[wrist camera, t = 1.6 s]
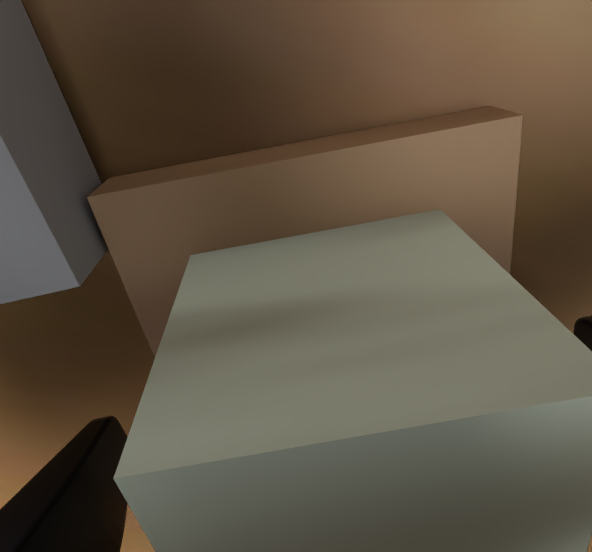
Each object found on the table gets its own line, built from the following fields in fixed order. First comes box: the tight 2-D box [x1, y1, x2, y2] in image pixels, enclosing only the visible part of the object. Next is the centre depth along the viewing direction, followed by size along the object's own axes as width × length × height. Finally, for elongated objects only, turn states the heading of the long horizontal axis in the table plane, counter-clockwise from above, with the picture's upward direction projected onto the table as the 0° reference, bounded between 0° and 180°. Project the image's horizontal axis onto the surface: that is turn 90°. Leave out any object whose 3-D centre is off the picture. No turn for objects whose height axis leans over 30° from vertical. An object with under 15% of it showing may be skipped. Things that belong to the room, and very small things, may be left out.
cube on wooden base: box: [87, 106, 592, 552], centre depth 8 cm, size 8×8×6 cm
